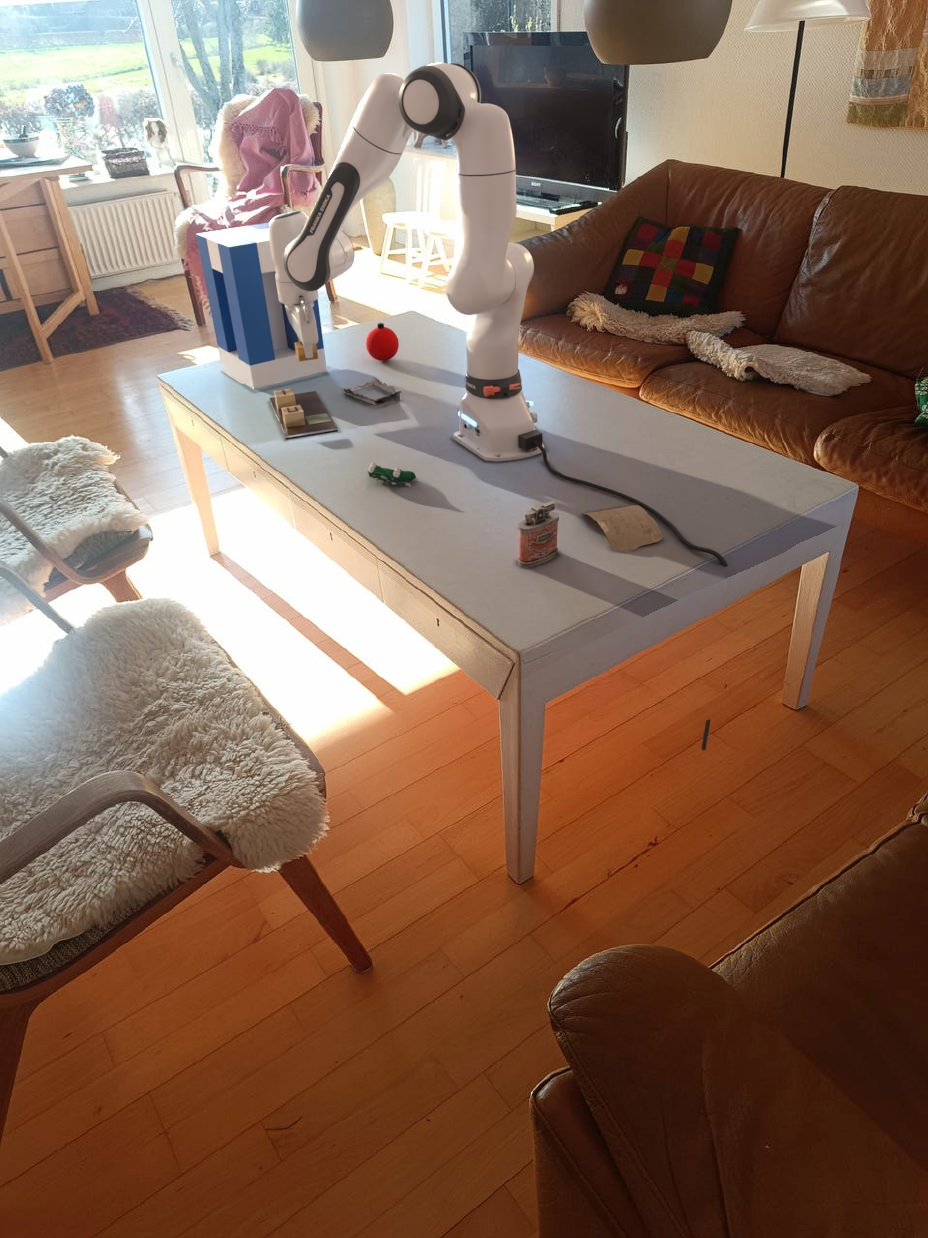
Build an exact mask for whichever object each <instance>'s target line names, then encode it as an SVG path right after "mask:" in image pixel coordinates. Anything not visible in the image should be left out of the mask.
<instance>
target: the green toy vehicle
mask: <svg viewBox="0 0 928 1238" xmlns="http://www.w3.org/2000/svg"><path fill="white" fill-rule="evenodd" d="M367 474H368V477H369V478H372V479H377V480H378V483H380V484H384V482H386V481H390V484H391V485H393V486H397V484H399V483H400V484H401V483H403V484H404V483H409V482H412V481H414V480H415V479H417V476H416V474H415V472H414V471H412V470H402V469H401V468H400V467H399V466H395V468H393V469H392V468H387V467H385V468H384V467H382V466H380V465H377V464H376V462H371V463H370V465H369V467H368V469H367Z"/></svg>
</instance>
